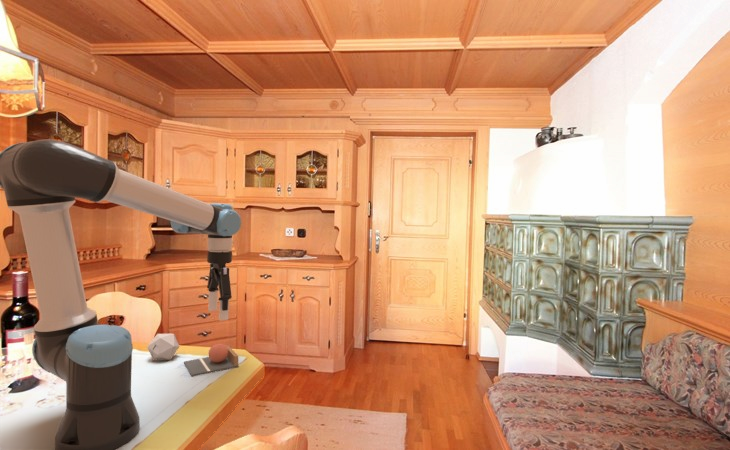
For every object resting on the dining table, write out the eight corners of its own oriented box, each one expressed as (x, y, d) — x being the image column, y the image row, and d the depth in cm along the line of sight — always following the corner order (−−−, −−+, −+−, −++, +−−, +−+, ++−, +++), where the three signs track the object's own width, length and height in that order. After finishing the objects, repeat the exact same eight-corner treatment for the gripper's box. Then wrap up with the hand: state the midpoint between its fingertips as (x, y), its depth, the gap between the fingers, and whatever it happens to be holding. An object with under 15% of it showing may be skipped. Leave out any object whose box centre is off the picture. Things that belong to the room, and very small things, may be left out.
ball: (210, 367, 120) (211, 348, 120) (206, 360, 125) (206, 342, 125) (230, 363, 124) (230, 345, 124) (225, 356, 129) (225, 339, 128)
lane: (191, 376, 114) (191, 364, 114) (184, 363, 124) (184, 352, 124) (238, 367, 122) (238, 356, 122) (227, 355, 132) (227, 344, 132)
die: (147, 358, 129) (139, 341, 123) (170, 339, 135) (163, 322, 129) (163, 371, 126) (156, 354, 120) (186, 351, 132) (180, 334, 126)
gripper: (243, 254, 115) (241, 323, 116) (221, 247, 136) (219, 305, 136) (218, 254, 111) (215, 326, 112) (199, 247, 131) (197, 308, 132)
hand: (217, 315), depth 124 cm, fingers open, 13 cm apart
